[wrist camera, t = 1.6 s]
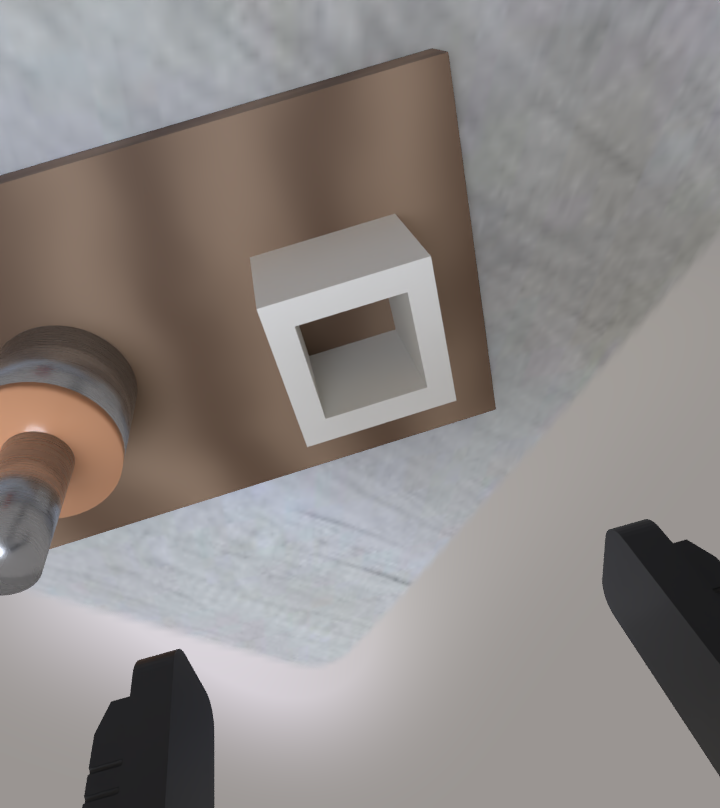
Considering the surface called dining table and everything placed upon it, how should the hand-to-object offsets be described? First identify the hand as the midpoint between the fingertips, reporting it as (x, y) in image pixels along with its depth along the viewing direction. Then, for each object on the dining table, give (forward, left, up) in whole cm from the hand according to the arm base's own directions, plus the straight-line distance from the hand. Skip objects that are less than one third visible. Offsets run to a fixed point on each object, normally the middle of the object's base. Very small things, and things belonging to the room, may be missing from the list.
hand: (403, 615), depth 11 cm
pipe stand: (+5, +1, -19) cm, 19 cm away
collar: (-1, +1, -17) cm, 17 cm away
